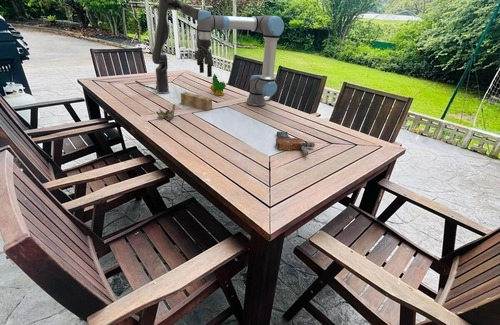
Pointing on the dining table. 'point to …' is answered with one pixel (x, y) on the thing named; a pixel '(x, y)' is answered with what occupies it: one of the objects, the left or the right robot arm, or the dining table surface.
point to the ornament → (217, 86)
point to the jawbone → (166, 113)
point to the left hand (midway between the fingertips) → (202, 64)
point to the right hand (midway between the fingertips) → (205, 74)
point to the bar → (196, 101)
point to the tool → (291, 143)
